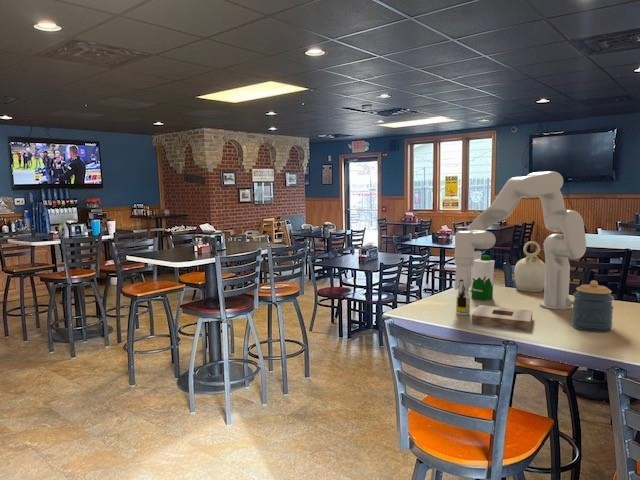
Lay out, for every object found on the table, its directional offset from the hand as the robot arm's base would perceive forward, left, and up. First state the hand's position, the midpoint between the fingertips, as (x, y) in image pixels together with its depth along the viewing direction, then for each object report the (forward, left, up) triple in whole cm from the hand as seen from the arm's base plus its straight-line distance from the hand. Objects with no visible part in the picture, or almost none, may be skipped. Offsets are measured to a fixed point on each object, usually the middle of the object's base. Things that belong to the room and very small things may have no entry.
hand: (463, 304), depth 194 cm
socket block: (-16, +6, -4) cm, 17 cm away
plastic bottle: (+2, -50, -4) cm, 50 cm away
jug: (-22, -65, -4) cm, 69 cm away
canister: (-46, 0, -4) cm, 46 cm away
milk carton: (-3, -33, -4) cm, 33 cm away
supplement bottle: (0, 0, -4) cm, 4 cm away
